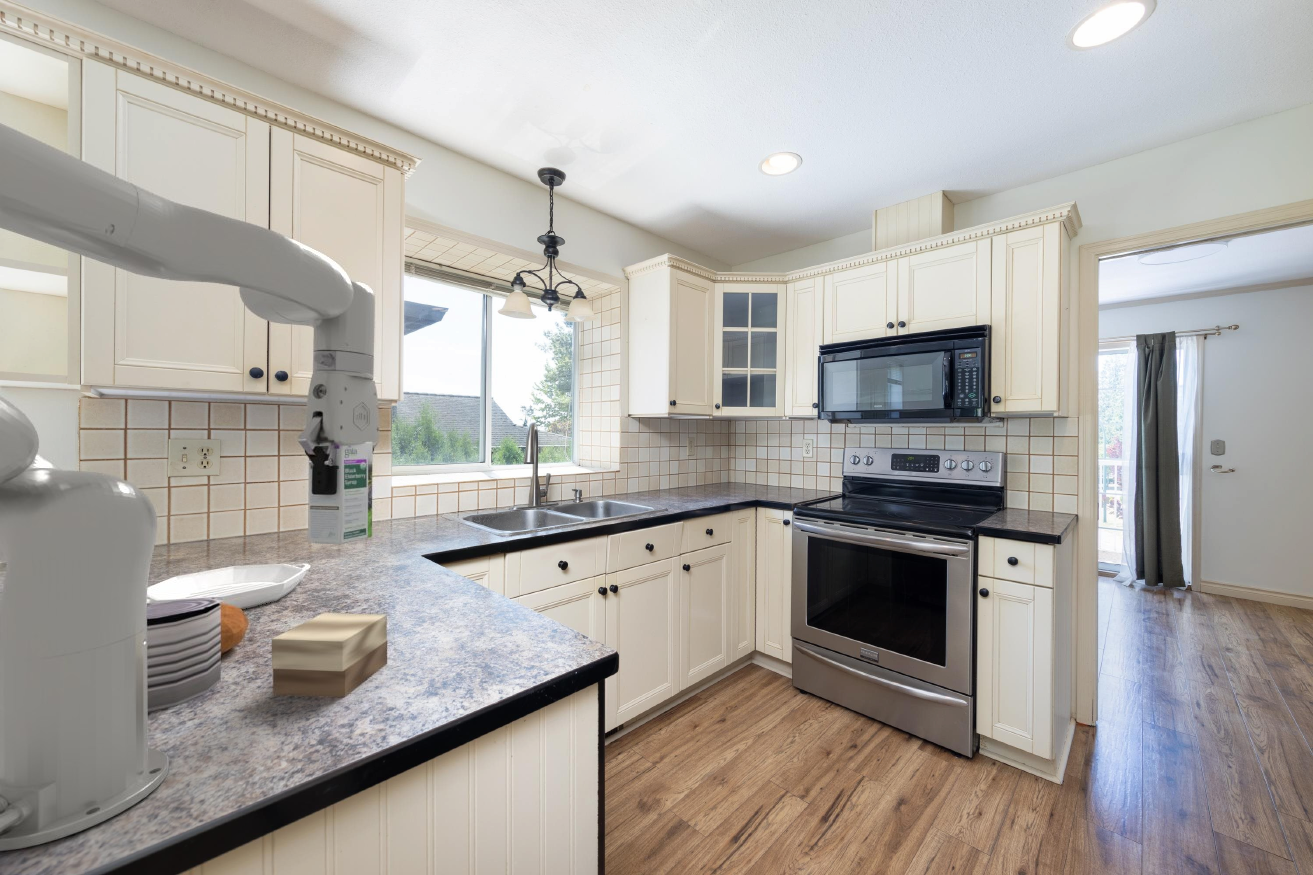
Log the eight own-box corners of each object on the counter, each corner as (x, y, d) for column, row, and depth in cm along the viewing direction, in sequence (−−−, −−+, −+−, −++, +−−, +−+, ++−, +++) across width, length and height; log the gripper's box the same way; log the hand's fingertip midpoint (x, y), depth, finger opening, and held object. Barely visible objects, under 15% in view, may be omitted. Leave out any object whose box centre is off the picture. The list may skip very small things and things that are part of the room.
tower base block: (345, 699, 69) (345, 670, 69) (273, 697, 69) (273, 668, 69) (387, 665, 79) (387, 640, 79) (324, 664, 79) (324, 638, 79)
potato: (243, 635, 89) (243, 592, 89) (254, 655, 81) (254, 608, 81) (170, 651, 83) (170, 605, 83) (174, 674, 75) (174, 623, 75)
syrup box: (341, 545, 70) (343, 439, 71) (305, 542, 72) (308, 439, 72) (372, 538, 76) (374, 440, 76) (339, 536, 77) (341, 439, 77)
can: (80, 721, 63) (79, 623, 63) (143, 678, 74) (142, 595, 74) (193, 707, 66) (193, 615, 66) (237, 668, 77) (237, 589, 77)
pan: (148, 636, 89) (148, 611, 89) (106, 610, 102) (106, 588, 102) (337, 590, 116) (337, 571, 116) (283, 573, 129) (283, 556, 129)
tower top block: (342, 671, 69) (342, 641, 68) (271, 668, 69) (271, 638, 69) (386, 640, 79) (386, 614, 78) (324, 638, 79) (324, 612, 79)
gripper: (326, 357, 65) (323, 499, 65) (402, 376, 83) (400, 487, 82) (270, 357, 66) (267, 497, 66) (357, 375, 83) (355, 486, 83)
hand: (341, 490), depth 74 cm, fingers closed on syrup box, 6 cm apart
